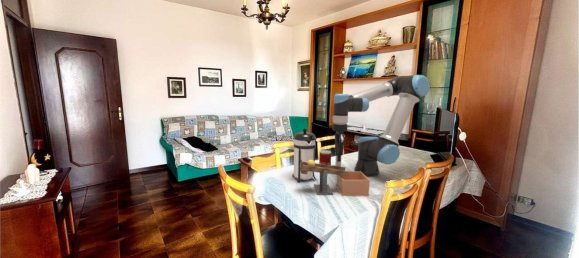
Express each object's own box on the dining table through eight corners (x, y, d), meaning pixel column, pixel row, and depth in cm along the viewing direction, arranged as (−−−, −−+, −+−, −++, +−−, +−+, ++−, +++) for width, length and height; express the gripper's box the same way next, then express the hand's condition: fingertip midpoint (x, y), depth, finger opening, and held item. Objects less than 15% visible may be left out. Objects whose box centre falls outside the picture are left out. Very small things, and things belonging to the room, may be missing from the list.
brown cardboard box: (359, 185, 132) (360, 171, 130) (368, 195, 119) (369, 180, 117) (336, 185, 131) (336, 171, 130) (342, 195, 118) (342, 180, 117)
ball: (307, 166, 124) (315, 165, 124) (308, 169, 120) (316, 167, 120) (306, 159, 123) (313, 158, 123) (307, 161, 119) (315, 160, 119)
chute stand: (316, 194, 119) (317, 170, 117) (313, 186, 130) (314, 163, 128) (332, 194, 119) (333, 170, 117) (328, 186, 130) (329, 163, 128)
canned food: (328, 170, 157) (328, 153, 155) (317, 167, 161) (317, 152, 159) (332, 167, 163) (333, 151, 161) (321, 165, 167) (322, 149, 166)
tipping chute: (300, 174, 119) (302, 163, 118) (298, 165, 132) (299, 156, 131) (347, 180, 120) (349, 169, 119) (341, 171, 133) (342, 162, 132)
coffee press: (321, 177, 144) (323, 127, 139) (308, 185, 130) (310, 131, 126) (297, 171, 153) (297, 125, 148) (282, 179, 140) (283, 128, 135)
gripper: (330, 121, 132) (328, 163, 136) (335, 125, 119) (333, 170, 123) (343, 121, 132) (341, 163, 136) (350, 125, 119) (348, 170, 123)
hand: (338, 166), depth 129 cm, fingers closed
